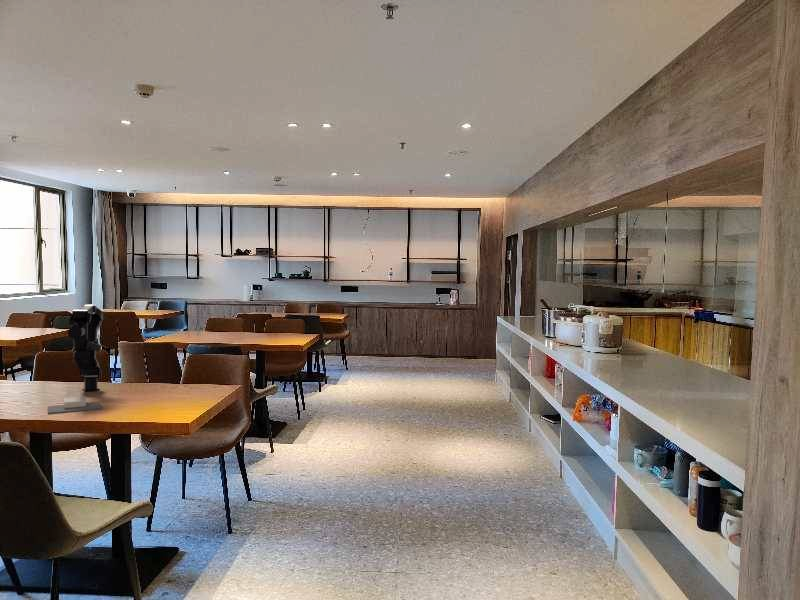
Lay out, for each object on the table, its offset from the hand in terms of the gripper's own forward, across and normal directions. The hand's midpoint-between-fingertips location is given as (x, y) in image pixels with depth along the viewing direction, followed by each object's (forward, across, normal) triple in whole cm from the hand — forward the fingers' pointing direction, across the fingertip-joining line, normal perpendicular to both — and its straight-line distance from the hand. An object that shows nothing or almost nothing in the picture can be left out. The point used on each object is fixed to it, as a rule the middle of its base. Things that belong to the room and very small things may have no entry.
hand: (80, 370), depth 268 cm
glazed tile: (+11, -14, +3) cm, 18 cm away
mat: (+13, -22, +3) cm, 26 cm away
